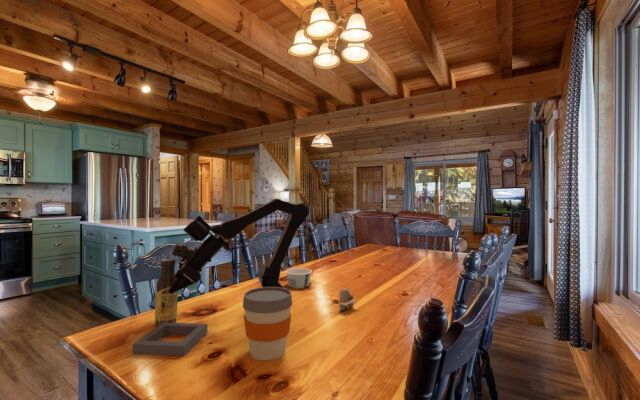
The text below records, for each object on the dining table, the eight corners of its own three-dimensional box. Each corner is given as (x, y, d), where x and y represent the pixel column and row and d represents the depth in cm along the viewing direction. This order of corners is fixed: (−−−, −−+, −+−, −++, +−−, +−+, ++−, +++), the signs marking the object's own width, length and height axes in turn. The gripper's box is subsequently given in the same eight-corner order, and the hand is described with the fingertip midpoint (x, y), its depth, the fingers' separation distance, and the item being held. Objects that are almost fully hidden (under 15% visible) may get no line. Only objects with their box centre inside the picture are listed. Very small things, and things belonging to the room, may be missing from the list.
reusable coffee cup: (270, 370, 72) (270, 305, 71) (232, 355, 78) (232, 295, 78) (301, 347, 82) (301, 291, 82) (265, 336, 89) (266, 284, 89)
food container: (317, 284, 142) (317, 270, 142) (301, 291, 132) (301, 275, 132) (296, 280, 148) (296, 266, 148) (279, 286, 138) (279, 271, 138)
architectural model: (356, 309, 111) (356, 289, 111) (345, 315, 106) (345, 293, 106) (348, 307, 114) (349, 287, 114) (337, 312, 108) (337, 291, 108)
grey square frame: (207, 332, 91) (207, 323, 91) (184, 355, 78) (184, 345, 78) (163, 330, 92) (163, 322, 92) (132, 353, 79) (132, 344, 79)
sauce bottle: (161, 329, 93) (161, 263, 93) (150, 324, 97) (151, 260, 97) (181, 322, 99) (182, 259, 98) (171, 317, 102) (171, 257, 102)
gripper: (187, 231, 108) (151, 266, 104) (188, 238, 91) (146, 279, 87) (211, 252, 112) (177, 286, 107) (216, 262, 95) (177, 303, 90)
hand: (169, 288), depth 98 cm, fingers open, 9 cm apart
